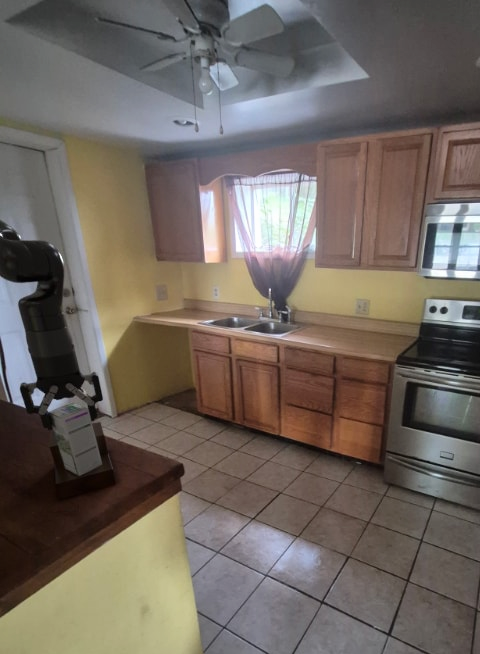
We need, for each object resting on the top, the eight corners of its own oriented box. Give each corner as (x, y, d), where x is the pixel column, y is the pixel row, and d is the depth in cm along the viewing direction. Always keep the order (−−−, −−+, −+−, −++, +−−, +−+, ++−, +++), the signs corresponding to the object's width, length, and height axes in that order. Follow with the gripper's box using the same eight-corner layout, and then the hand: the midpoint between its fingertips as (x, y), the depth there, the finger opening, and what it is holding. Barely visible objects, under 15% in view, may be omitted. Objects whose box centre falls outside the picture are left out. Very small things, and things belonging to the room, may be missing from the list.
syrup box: (103, 464, 85) (90, 407, 79) (78, 477, 80) (62, 417, 75) (88, 457, 88) (74, 401, 82) (63, 469, 83) (46, 411, 77)
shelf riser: (60, 499, 80) (49, 464, 76) (58, 464, 92) (49, 432, 88) (116, 483, 85) (108, 449, 81) (107, 452, 97) (100, 421, 94)
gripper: (91, 341, 79) (106, 410, 86) (9, 350, 72) (32, 425, 79) (95, 349, 74) (110, 423, 80) (6, 360, 67) (31, 440, 73)
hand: (71, 424), depth 80 cm, fingers closed on syrup box, 7 cm apart
